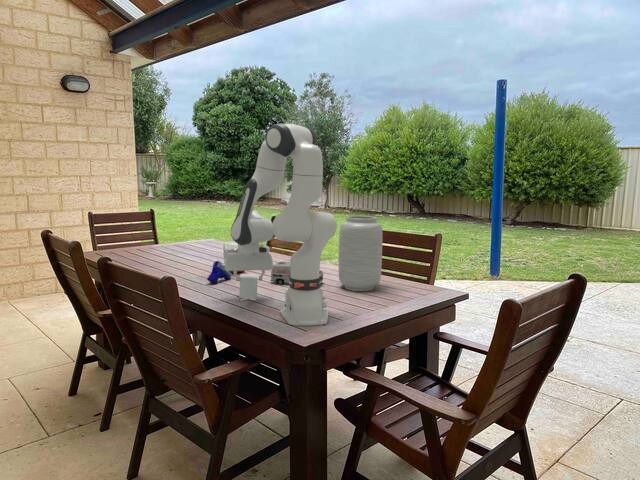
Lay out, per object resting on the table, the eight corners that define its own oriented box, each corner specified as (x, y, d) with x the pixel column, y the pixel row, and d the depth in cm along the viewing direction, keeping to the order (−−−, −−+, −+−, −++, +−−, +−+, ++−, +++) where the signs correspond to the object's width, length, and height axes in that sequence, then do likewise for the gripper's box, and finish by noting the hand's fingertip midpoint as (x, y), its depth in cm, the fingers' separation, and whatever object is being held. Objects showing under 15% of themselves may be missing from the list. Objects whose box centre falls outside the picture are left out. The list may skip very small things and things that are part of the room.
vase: (346, 294, 207) (347, 219, 203) (332, 283, 227) (334, 215, 222) (387, 291, 213) (390, 219, 208) (371, 281, 232) (373, 215, 227)
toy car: (319, 287, 219) (320, 267, 218) (269, 284, 224) (269, 264, 222) (324, 282, 229) (324, 263, 228) (276, 279, 234) (276, 260, 233)
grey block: (256, 298, 198) (257, 278, 197) (239, 298, 197) (240, 277, 196) (256, 294, 205) (257, 274, 204) (239, 293, 204) (240, 274, 203)
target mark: (262, 298, 199) (262, 297, 199) (247, 302, 192) (247, 302, 192) (248, 294, 204) (248, 294, 204) (232, 298, 197) (232, 298, 197)
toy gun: (205, 278, 221) (214, 260, 225) (220, 290, 231) (228, 272, 236) (212, 279, 219) (220, 261, 223) (227, 291, 229) (234, 273, 234)
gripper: (222, 249, 190) (223, 282, 192) (272, 248, 193) (273, 281, 195) (224, 248, 197) (225, 280, 198) (272, 246, 199) (273, 278, 201)
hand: (249, 280), depth 196 cm, fingers open, 8 cm apart
